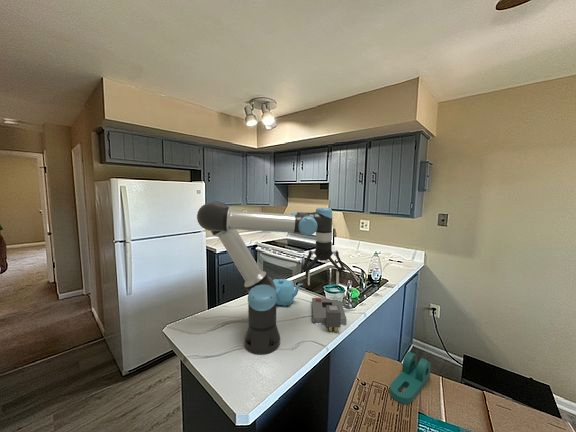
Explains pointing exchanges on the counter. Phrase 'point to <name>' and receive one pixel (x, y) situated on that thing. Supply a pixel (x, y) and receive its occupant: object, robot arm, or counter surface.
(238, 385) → the counter surface
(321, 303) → the socket
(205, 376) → the counter surface
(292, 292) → the teapot
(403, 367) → the bracket
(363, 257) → the counter surface
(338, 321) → the plug
